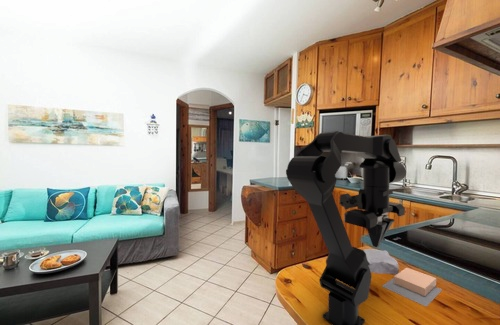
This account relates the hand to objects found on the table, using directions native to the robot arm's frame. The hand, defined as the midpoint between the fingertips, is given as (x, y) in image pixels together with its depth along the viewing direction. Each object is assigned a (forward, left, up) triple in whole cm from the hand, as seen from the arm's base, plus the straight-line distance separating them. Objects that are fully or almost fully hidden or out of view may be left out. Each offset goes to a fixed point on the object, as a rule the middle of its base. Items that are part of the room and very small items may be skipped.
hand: (375, 246), depth 56 cm
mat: (+11, -4, -13) cm, 17 cm away
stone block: (+16, +8, -14) cm, 23 cm away
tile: (+9, -4, -12) cm, 15 cm away
